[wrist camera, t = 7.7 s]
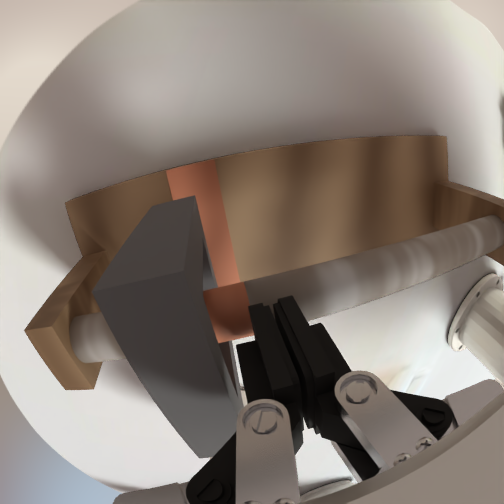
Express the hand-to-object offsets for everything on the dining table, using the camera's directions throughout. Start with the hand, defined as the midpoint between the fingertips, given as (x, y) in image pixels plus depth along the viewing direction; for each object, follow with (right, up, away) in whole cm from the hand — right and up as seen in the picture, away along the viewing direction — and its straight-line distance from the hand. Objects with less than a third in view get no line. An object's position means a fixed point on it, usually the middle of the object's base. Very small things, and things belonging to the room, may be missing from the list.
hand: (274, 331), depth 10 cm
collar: (-4, +2, +6) cm, 7 cm away
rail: (+2, +5, +9) cm, 11 cm away
